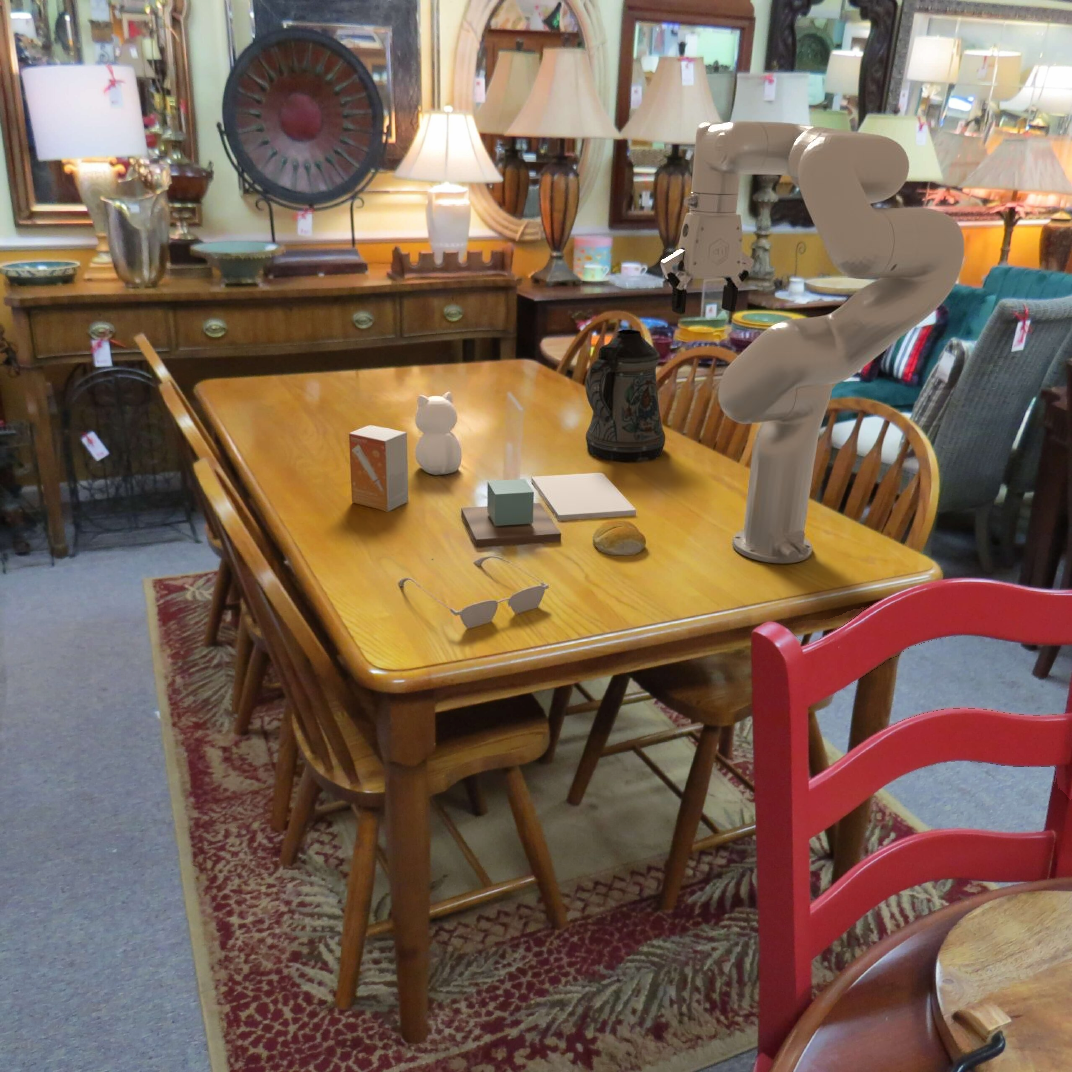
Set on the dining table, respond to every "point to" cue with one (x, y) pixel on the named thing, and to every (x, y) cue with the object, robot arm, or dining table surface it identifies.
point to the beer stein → (625, 401)
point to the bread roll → (619, 538)
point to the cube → (510, 502)
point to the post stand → (509, 529)
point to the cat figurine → (437, 435)
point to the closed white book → (582, 496)
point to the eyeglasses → (487, 609)
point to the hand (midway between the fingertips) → (703, 311)
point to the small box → (379, 467)
